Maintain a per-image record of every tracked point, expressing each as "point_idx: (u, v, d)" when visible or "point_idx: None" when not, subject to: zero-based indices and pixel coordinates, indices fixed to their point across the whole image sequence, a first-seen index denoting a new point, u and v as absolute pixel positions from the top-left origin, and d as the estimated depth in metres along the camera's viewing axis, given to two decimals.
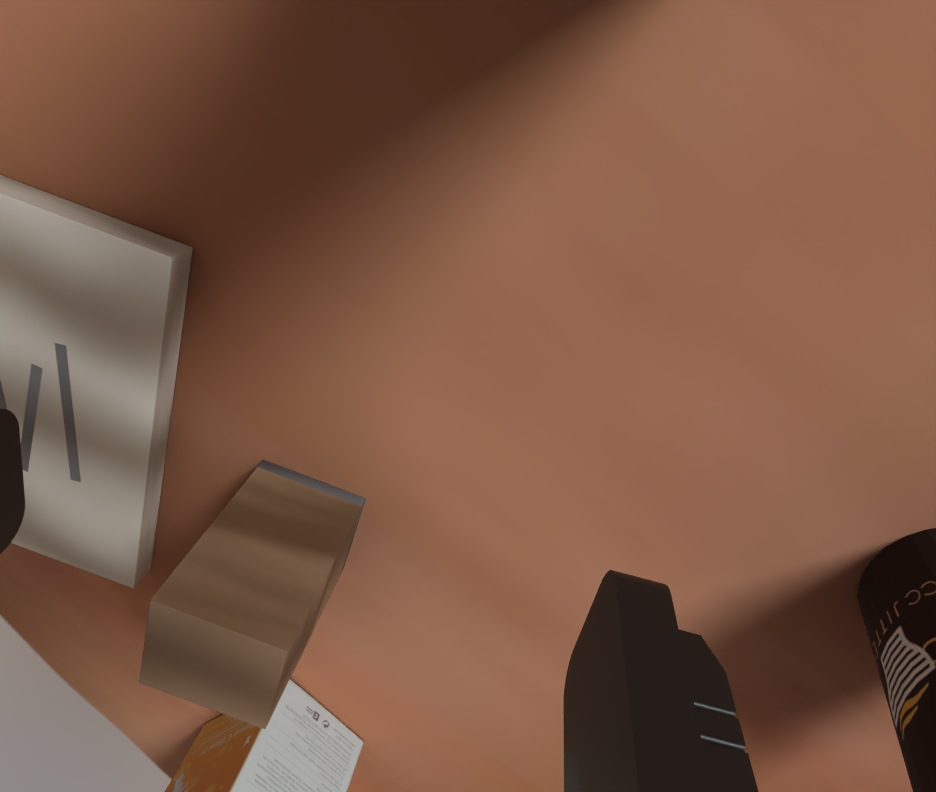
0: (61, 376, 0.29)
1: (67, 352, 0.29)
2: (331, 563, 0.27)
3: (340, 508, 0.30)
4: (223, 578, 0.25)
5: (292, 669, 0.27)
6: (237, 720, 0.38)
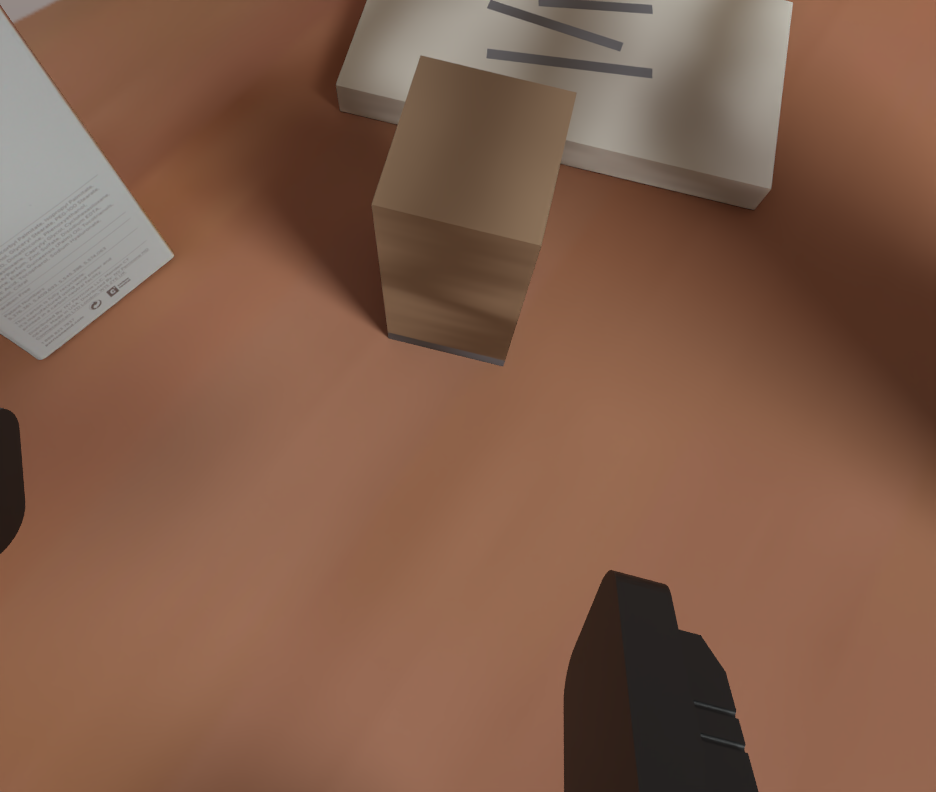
0: (616, 66, 0.29)
1: (644, 78, 0.29)
2: (518, 316, 0.22)
3: None
4: None
5: (399, 254, 0.20)
6: None
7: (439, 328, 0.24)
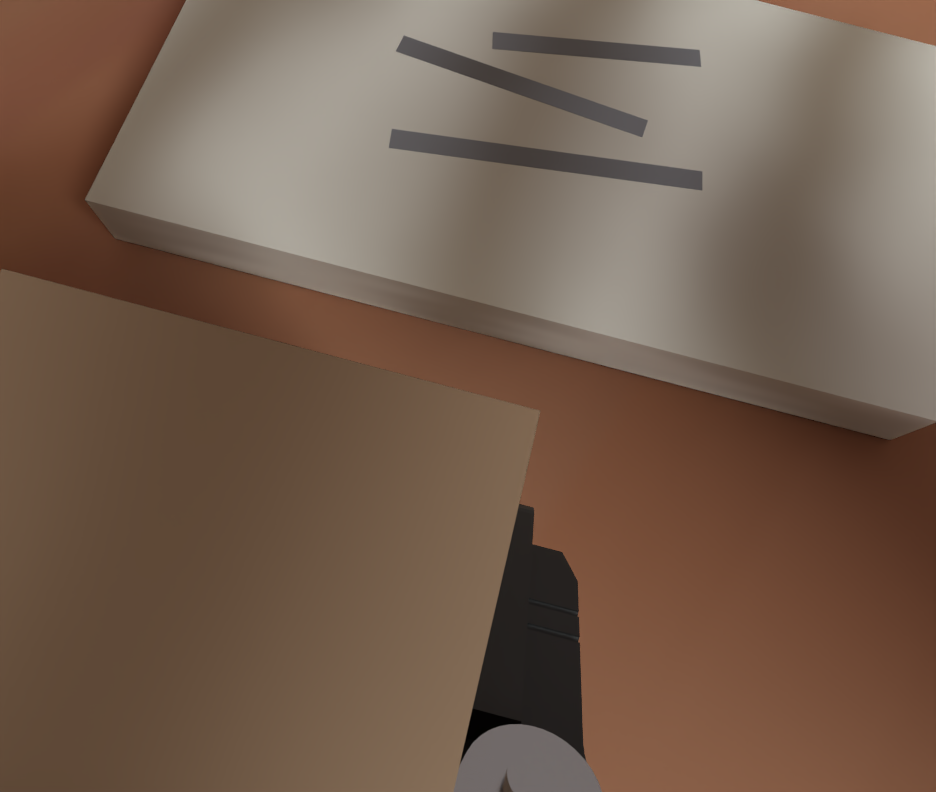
0: (634, 167, 0.15)
1: (688, 189, 0.15)
2: None
3: None
4: None
5: None
6: None
7: None
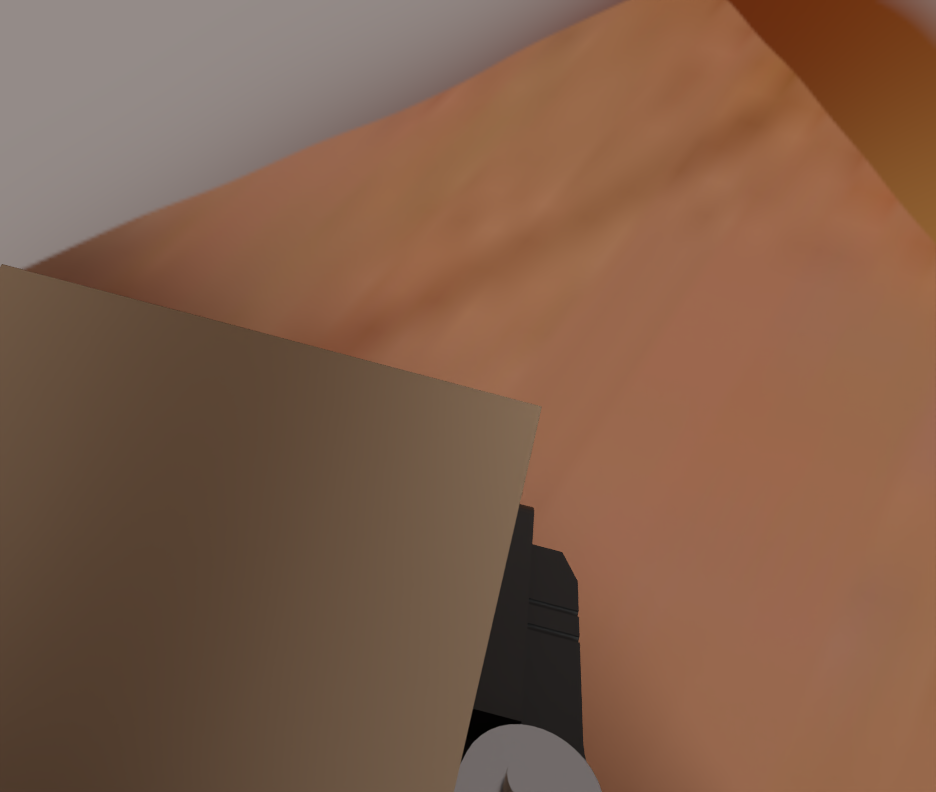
0: None
1: None
2: None
3: None
4: None
5: None
6: None
7: None
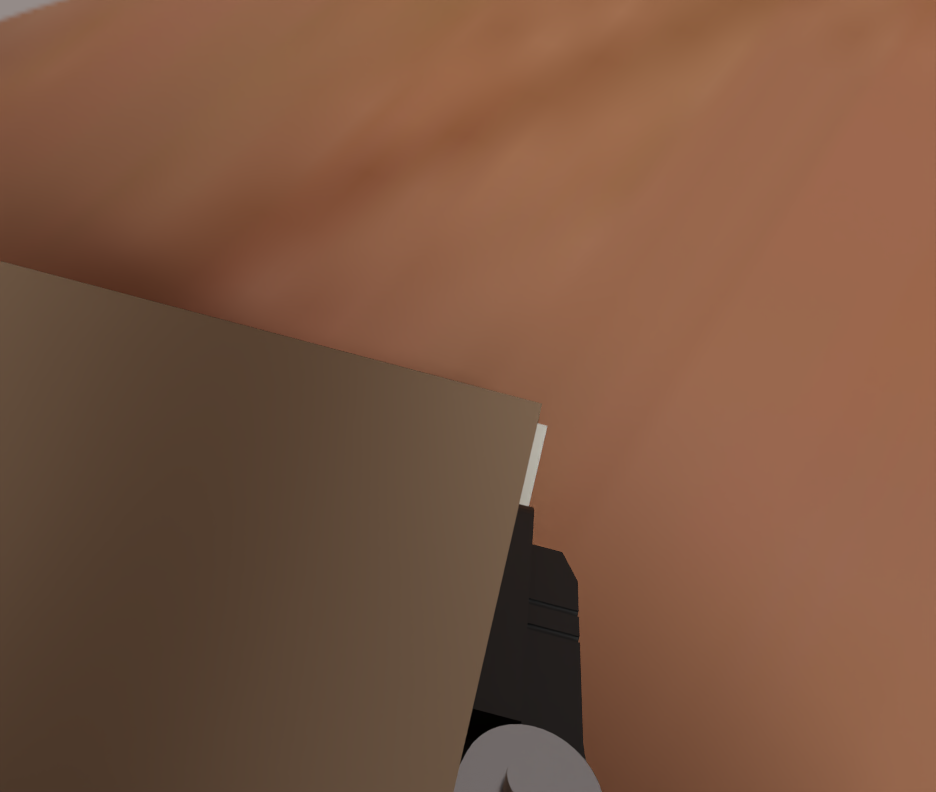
0: None
1: None
2: None
3: None
4: None
5: None
6: None
7: None
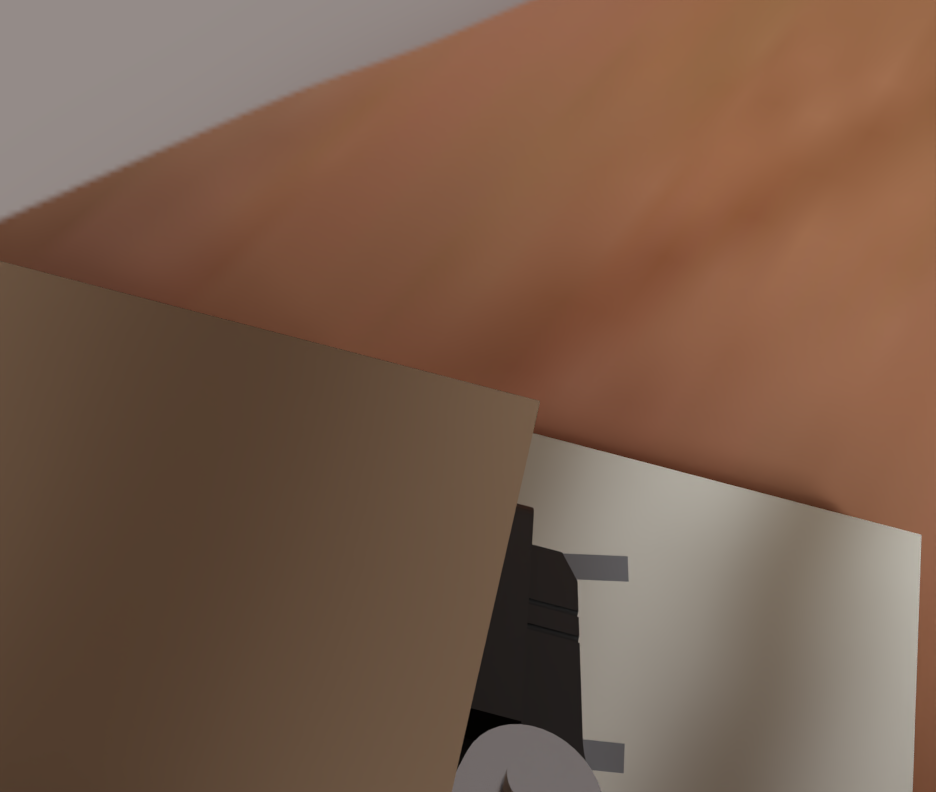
0: None
1: (607, 773, 0.13)
2: None
3: None
4: None
5: None
6: None
7: None
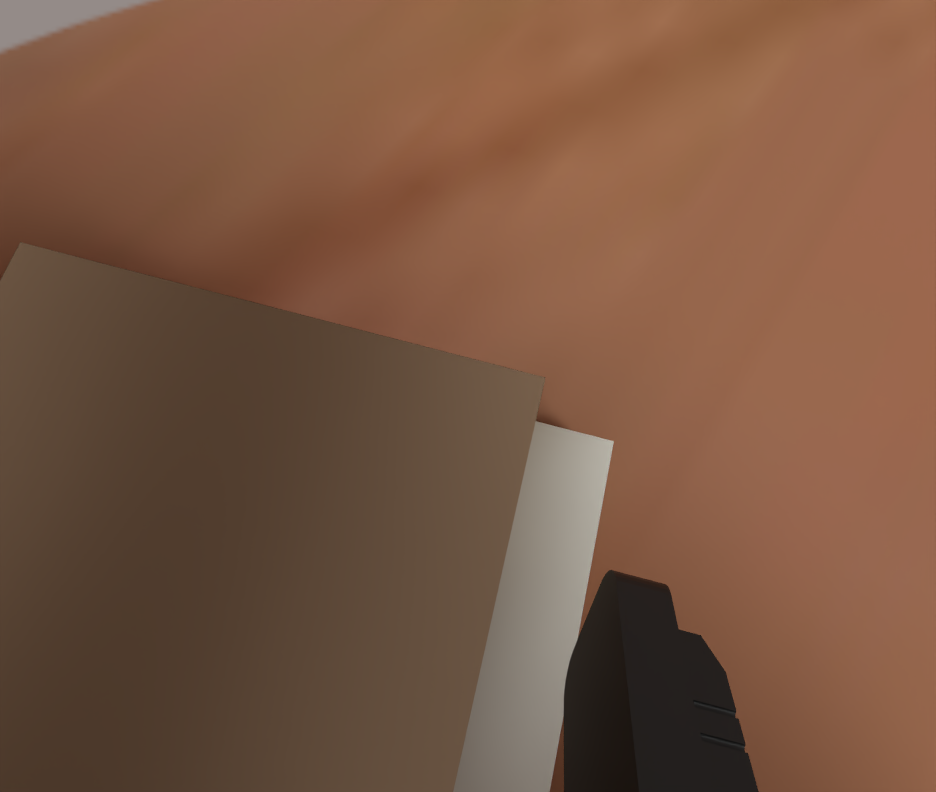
0: None
1: None
2: None
3: None
4: None
5: None
6: None
7: None
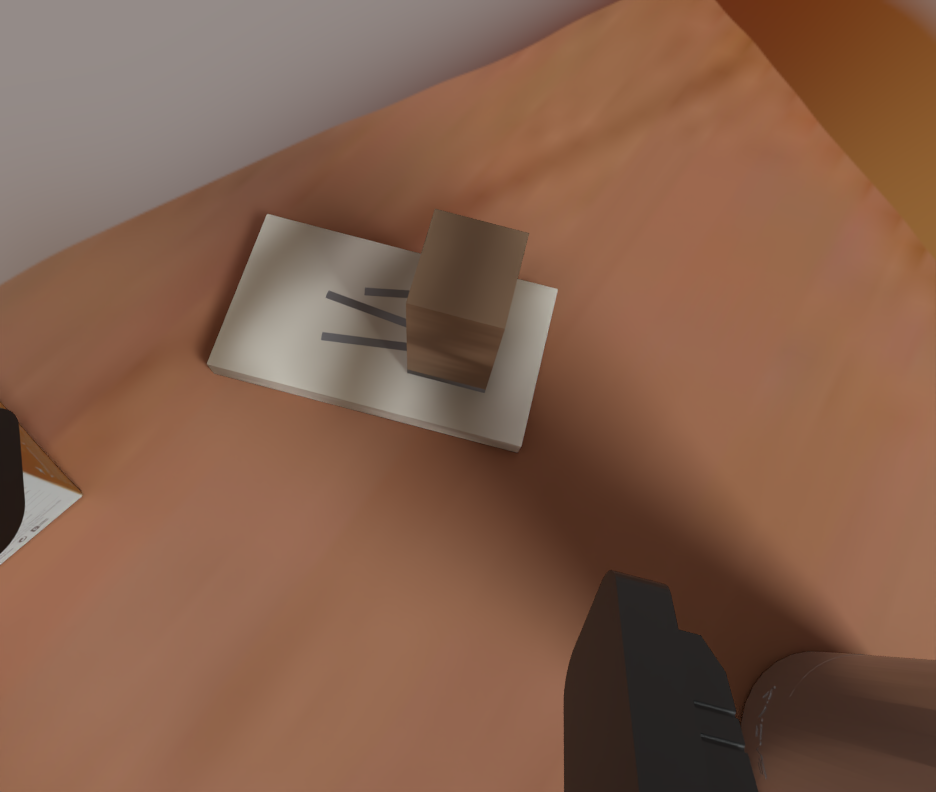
0: None
1: None
2: (493, 364, 0.35)
3: None
4: None
5: (420, 327, 0.32)
6: (31, 445, 0.36)
7: (442, 368, 0.37)
